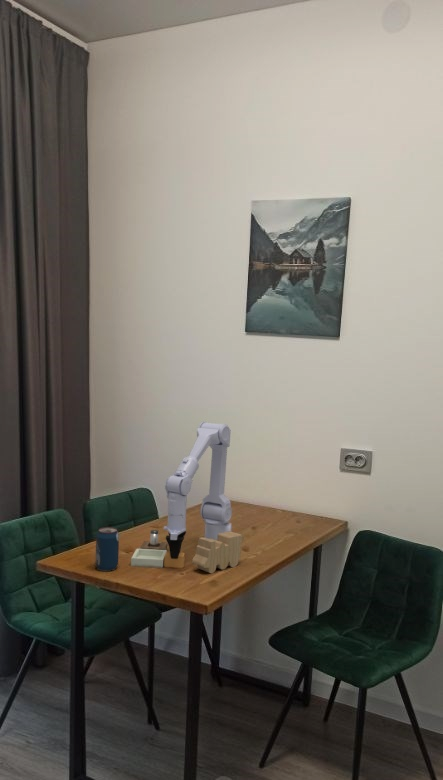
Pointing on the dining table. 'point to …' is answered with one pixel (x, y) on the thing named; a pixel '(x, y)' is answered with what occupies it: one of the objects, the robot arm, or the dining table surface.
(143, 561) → the tray
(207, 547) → the toy train
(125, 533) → the dining table surface
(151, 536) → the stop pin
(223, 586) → the dining table surface
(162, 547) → the socket block
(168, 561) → the block
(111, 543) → the soda can
